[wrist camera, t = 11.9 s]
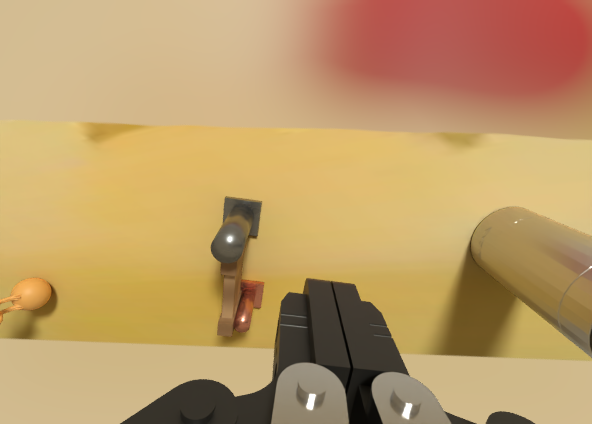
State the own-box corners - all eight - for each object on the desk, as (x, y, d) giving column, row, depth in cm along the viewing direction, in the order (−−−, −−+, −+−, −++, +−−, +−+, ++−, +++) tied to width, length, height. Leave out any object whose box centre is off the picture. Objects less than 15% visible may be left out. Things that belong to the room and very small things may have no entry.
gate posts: (274, 203, 39) (269, 232, 30) (260, 305, 43) (252, 359, 34) (225, 196, 39) (204, 224, 29) (216, 300, 43) (196, 353, 34)
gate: (233, 235, 39) (221, 260, 33) (246, 236, 39) (237, 262, 33) (228, 299, 42) (217, 335, 35) (241, 300, 42) (231, 336, 35)
